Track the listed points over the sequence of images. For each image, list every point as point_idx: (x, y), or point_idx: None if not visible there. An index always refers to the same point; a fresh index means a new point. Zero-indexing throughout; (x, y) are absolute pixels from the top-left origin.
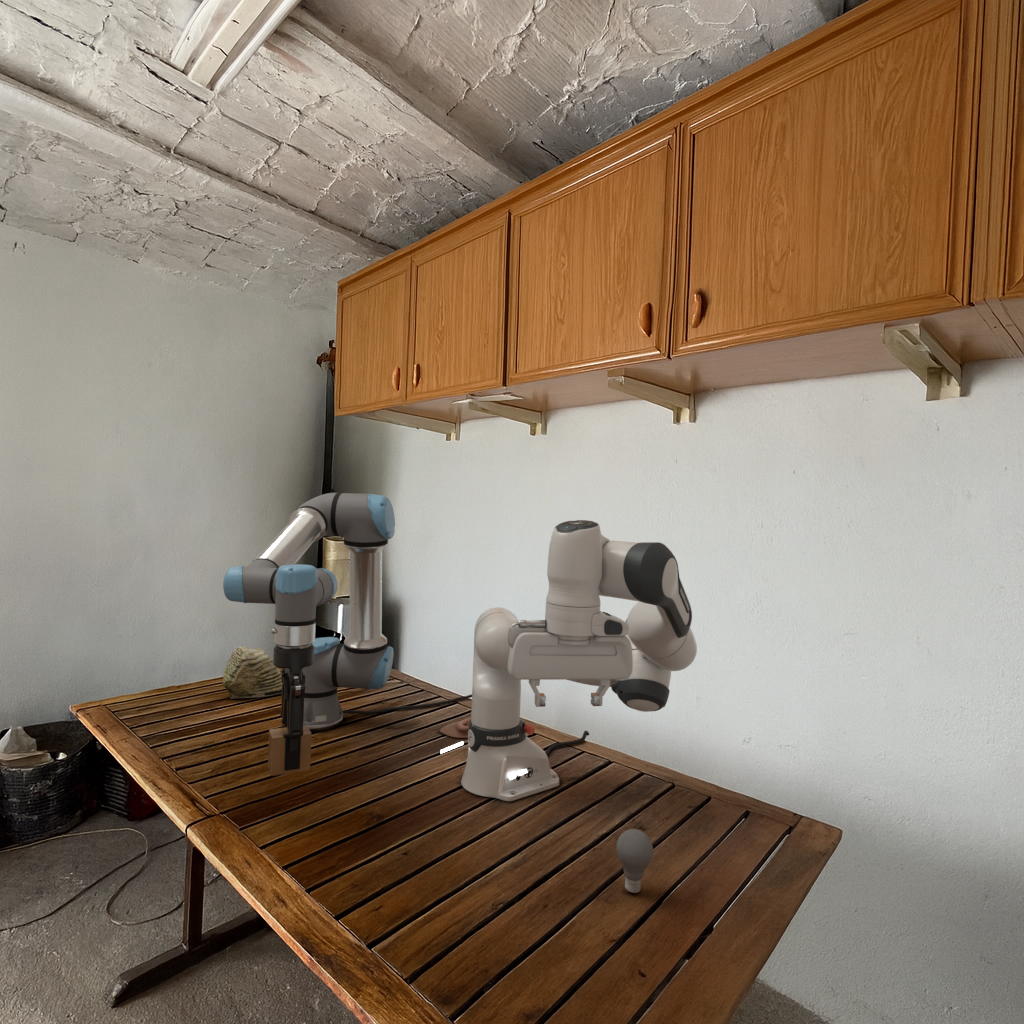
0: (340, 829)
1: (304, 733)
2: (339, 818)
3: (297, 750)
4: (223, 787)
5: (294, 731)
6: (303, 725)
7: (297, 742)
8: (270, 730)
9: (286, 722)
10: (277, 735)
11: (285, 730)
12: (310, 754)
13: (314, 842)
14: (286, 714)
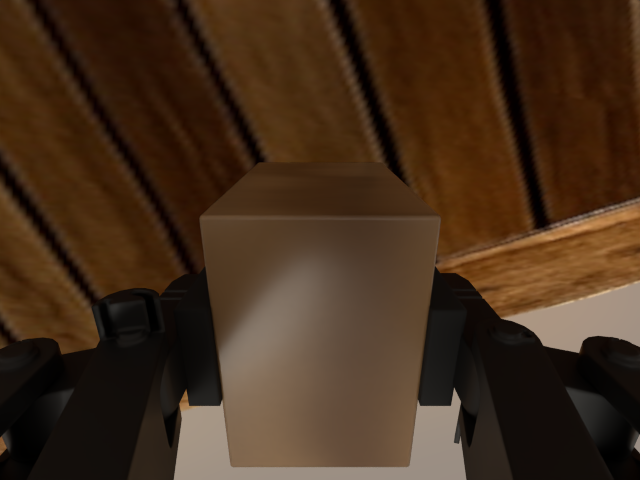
0: (438, 51)
1: (417, 272)
2: (370, 39)
3: (471, 286)
4: (83, 320)
5: (636, 438)
6: (211, 252)
7: (493, 316)
8: (260, 465)
9: (176, 394)
10: (374, 439)
11: (290, 387)
12: (398, 178)
13: (470, 140)
14: (166, 476)
